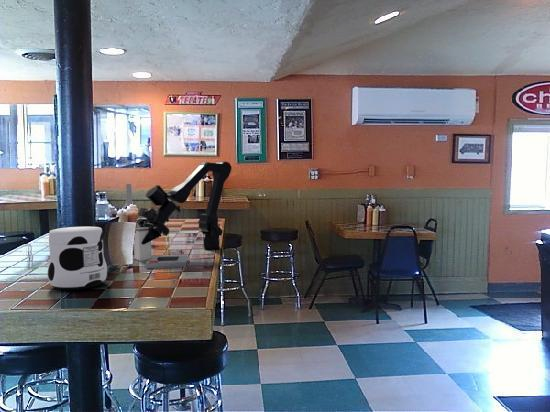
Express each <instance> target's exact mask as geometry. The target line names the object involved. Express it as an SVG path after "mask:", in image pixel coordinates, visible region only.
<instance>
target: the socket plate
mask: <svg viewBox="0 0 550 412" xmlns="http://www.w3.org/2000/svg"><path fill="white" fill-rule="evenodd" d="M188 256H189V255H188V254H172V255H171V254H169V255H167V254H166V255H152V256H151V257H150V258H149V260H146V262H145V269H146V270H147V269H176V268H180V269H181V268H185V267H186V265H187V263H188V261H189V257H188Z"/></svg>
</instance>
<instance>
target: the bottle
mask: <svg viewBox="0 0 550 412" xmlns="http://www.w3.org/2000/svg"><path fill="white" fill-rule="evenodd" d="M125 185H126V186H125V188H126V201H125V202H126V203H125V204H124V205H123V208H122V210H123V209H124V208H126V207H127V206H129V205H130V204H133V205H135V204H134V202H133V195H132V194H133V193H132V183H125Z"/></svg>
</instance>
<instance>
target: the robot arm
mask: <svg viewBox="0 0 550 412" xmlns="http://www.w3.org/2000/svg"><path fill="white" fill-rule="evenodd" d="M232 170H233V169H232V166H231V163H230V162H228V161H216V162H208V161H204V162H203V161H202V162H201V163H200V164H199V166H197V168H196V169H195V170H193V172H192V173H191V174H190V175H189V176H188V177H187V178H185V180H184V181H183V182H181V183H180V184H178V185H176V186H174V187H173V188H172V189H170V191H167V192H166V191H165V190H163V188H162V187H161V185H159V184H156V185H155V186H154V187H152V188H151V189H149V190H148V191H147V192H146V194H145V197H146V198H147V199H148V200H149V201H150V202H151V203H152V204H153V205H154V206H156V207H158V206H159V208H158V209H157V210H156V208H153V207H149V208H144V207H140V209H139V210H138V213H137V216H139V217H142V218H146V219H138V221H137V222H136V223H137V224H138V225H139V226H140V227H148V228H149V231H148V233H147V235H146V236H145V238H144V239H143V241H142V244H143V245H144V244H146V243H148V242H150V241H151V242H152V241H154V240H156V239H158V238H160V237H162V236H164V237H167V236H168V235H169V234H170V228H169V227H167V225H165V224H166V223H169V222H170V219H169V218H170V217H171V216H172V215H173V213H174V212H176V213H181V211H182V210H181V206H180V205H179V204H184V203H185V202H186V201H187V200H188V198H189V197H190V195H191V191H192V190H193V189H194V188H195V187H196V186H197V185H198V183H200V181H201V180H203V178H204V177H205V176H206V175H207V174H208V173H209V172H212V173H211V174H212V179H213V181H212V185H211V188H210V189H211V190H210V193H209V198H208V201H207V206H206V208H205V209H206V210H205V212H204V213H200V215H199V219H198V221H197V223H198V228H199V230H200V231H201V233H202V235H204V238H203V248H204V250H205V251H207V250H208V251H209V250H212V251H213V250H220V249H221V245H220V236H222V235H223V232H224V230H223V229H222V228H221V227H220V226H219V218H218V209H219V206H220V202H221V197H222V194H223V190H224V186H225V182H226V181H227V179H228V178H229V177H230V174H231V173H232V172H231V171H232ZM176 203H178V204H176ZM148 221H149V222H148Z"/></svg>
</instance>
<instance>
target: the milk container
mask: <svg viewBox="0 0 550 412" xmlns="http://www.w3.org/2000/svg"><path fill="white" fill-rule="evenodd" d="M48 242H49V245H48V248H49V249H48V250H49V263H48V267H47V278H48V279H47V281H48V283H49V285H50V286H51V287H52V288H54V289H58V290H63V291H64V290H65V291H69V290H70V291H74V290H75V291H76V290H85V289H90V288H93V287H97V286H99V285H101V284H103V283H104V282H105V281H106V279H107V277H108V265H107V262H106V260H105V256H104V234H103V229H102V227H99V226H71V227H69V226H68V227H61V228H55V229H51V230H49V232H48Z"/></svg>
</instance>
